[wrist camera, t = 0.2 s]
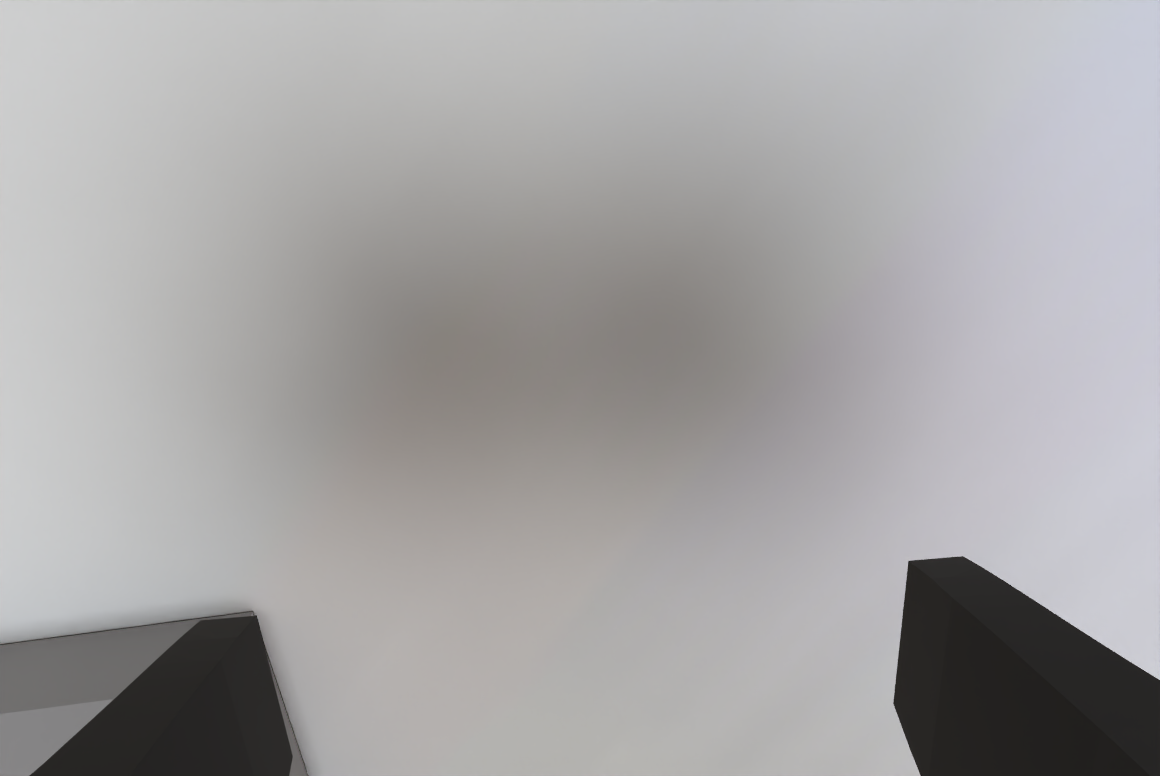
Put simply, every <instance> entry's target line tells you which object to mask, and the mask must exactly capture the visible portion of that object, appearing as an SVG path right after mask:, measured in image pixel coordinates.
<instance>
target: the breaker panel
mask: <svg viewBox="0 0 1160 776" xmlns="http://www.w3.org/2000/svg"><path fill="white" fill-rule="evenodd" d="M245 616H254V614H253V612H247V613H239V614H232V615H224V616H216V617H209V618H201V619H194V620H186V621H179V622H171V623H163V624H156V625H148V626H141V627H133V628H126V629H118V630H111V631H103V632H95V633H88V634H80V635H73V636H65V637H58V638H50V639H42V640H35V641H27V642H20V643H12V644H5V645H0V776H29V775H31V774H32V773H33V772H34V771H35V770H37V769H38V768H39V767H40V766H41V765H42V764H43V763H45V762H46V761H47V760H48V759H49V758H50V757H51V756H52V755H53V754H54V753H56V752H57V751H58V750H59V749H60V748H61V747H62V746H63V745H64V744H65V743H67V742H68V741H69V740H70V739H71V738H72V737H73V736H74V735H75V734H76V733H77V732H79V731H80V730H81V729H82V728H83V727H84V726H85V725H86V724H87V723H88V722H90V721H91V720H92V719H93V718H94V717H95V716H96V715H97V714H98V713H99V712H100V711H102V710H103V709H104V708H105V707H106V706H107V705H108V704H109V703H110V702H111V701H112V700H114V699H115V698H116V697H117V696H118V695H119V694H120V693H121V692H122V691H123V690H124V689H125V688H126V687H127V686H129V685H130V684H131V683H132V682H133V681H134V680H135V679H136V678H137V677H138V676H139V675H140V674H141V673H142V672H144V671H145V670H146V669H147V668H148V667H149V666H150V665H151V664H152V663H153V662H154V661H155V660H156V659H158V658H159V657H160V656H161V655H162V654H163V653H164V652H165V651H166V650H167V649H168V648H169V647H171V646H172V645H173V644H174V643H175V642H176V641H177V640H178V639H179V638H181V637H182V636H183V635H184V634H185V633H186V632H187V631H189V630H190V629H191V628H192V627H193V626H194V625H196V624H197V623H198V622H199V621H200V620H210V619H221V618H233V617H245ZM266 654H267V653H266ZM267 658H268V656H267ZM268 662H269V659H268ZM269 666H270V670H271V673H272V677H273V681H274V685H275V689H276V693H277V697H278V701H279V704H280V708H281V712H282V716H283V720H284V724H285V728H286V732H287V735H288V739H289V743H290V747H291V751H292V755H293V758H292V764H291V769H290V775H289V776H308V775H307V772H306V769H305V766H304V763H303V760H302V757H301V754H300V751H299V748H298V745H297V742H296V739H295V736H294V733H293V730H292V727H291V724H290V721H289V718H288V715H287V712H286V709H285V706H284V703H283V700H282V697H281V694H280V692H279V689H278V686H277V683H276V680H275V677H274V674H273V671H272V668H271V665H270V662H269Z"/></svg>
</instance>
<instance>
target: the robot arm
mask: <svg viewBox="0 0 1160 776" xmlns="http://www.w3.org/2000/svg"><path fill="white" fill-rule="evenodd" d="M893 704H894V706H895V709H896V712H897V714H898V717H899V720H900V723H901V725H902V728H903V731H904V733H905V736H906V739H907V742H908V744H909V747H910V750H911V752H912V755H913V757H914V760H915V762H916V765H917V767H918V770H919V772H920V775H921V776H1160V680H1158V679H1157V678H1155V677H1154V676H1152V675H1150V674H1149V673H1147V672H1145V671H1144V670H1142V669H1141V668H1139V667H1137V666H1136V665H1134V664H1132V663H1131V662H1129V661H1128V660H1126V659H1125V658H1123V657H1121V656H1120V655H1118V654H1117V653H1115V652H1113V651H1112V650H1110V649H1109V648H1107V647H1105V646H1104V645H1102V644H1101V643H1099V642H1098V641H1096V640H1094V639H1093V638H1091V637H1090V636H1088V635H1087V634H1085V633H1084V632H1082V631H1080V630H1079V629H1077V628H1076V627H1074V626H1073V625H1071V624H1070V623H1068V622H1066V621H1065V620H1063V619H1062V618H1060V617H1059V616H1057V615H1056V614H1054V613H1053V612H1051V611H1049V610H1048V609H1046V608H1045V607H1043V606H1042V605H1040V604H1039V603H1037V602H1036V601H1034V600H1032V599H1031V598H1029V597H1028V596H1026V595H1025V594H1023V593H1022V592H1020V591H1019V590H1017V589H1015V588H1014V587H1012V586H1011V585H1009V584H1008V583H1006V582H1005V581H1003V580H1001V579H1000V578H998V577H997V576H995V575H993V574H992V573H990V572H989V571H987V570H985V569H984V568H982V567H980V566H979V565H977V564H975V563H974V562H972V561H970V560H968V559H967V558H965V557H963V556H962V557H950V558H938V559H926V560H914V561H909V562H908V572H907V581H906V591H905V600H904V609H903V619H902V628H901V638H900V647H899V656H898V666H897V675H896V684H895V694H894V703H893ZM292 758H293V755H292V751H291V747H290V743H289V739H288V735H287V732H286V728H285V724H284V720H283V716H282V712H281V708H280V704H279V701H278V697H277V693H276V689H275V685H274V681H273V677H272V673H271V670H270V666H269V662H268V658H267V654H266V650H265V646H264V642H263V638H262V635H261V631H260V627H259V623H258V619H257V616H245V617H233V618H221V619H210V620H200V621H199V622H198V623H197V624H196V625H194V626H193V627H192V628H191V629H190V630H189V631H187V632H186V633H185V634H184V635H183V636H182V637H181V638H179V639H178V640H177V641H176V642H175V643H174V644H173V645H172V646H171V647H169V648H168V649H167V650H166V651H165V652H164V653H163V654H162V655H161V656H160V657H159V658H158V659H156V660H155V661H154V662H153V663H152V664H151V665H150V666H149V667H148V668H147V669H146V670H145V671H144V672H142V673H141V674H140V675H139V676H138V677H137V678H136V679H135V680H134V681H133V682H132V683H131V684H130V685H129V686H127V687H126V688H125V689H124V690H123V691H122V692H121V693H120V694H119V695H118V696H117V697H116V698H115V699H114V700H112V701H111V702H110V703H109V704H108V705H107V706H106V707H105V708H104V709H103V710H102V711H100V712H99V713H98V714H97V715H96V716H95V717H94V718H93V719H92V720H91V721H90V722H88V723H87V724H86V725H85V726H84V727H83V728H82V729H81V730H80V731H79V732H77V733H76V734H75V735H74V736H73V737H72V738H71V739H70V740H69V741H68V742H67V743H65V744H64V745H63V746H62V747H61V748H60V749H59V750H58V751H57V752H56V753H54V754H53V755H52V756H51V757H50V758H49V759H48V760H47V761H46V762H45V763H43V764H42V765H41V766H40V767H39V768H38V769H37V770H35V771H34V772H33V773H32V774H31V775H29V776H289V775H290V769H291V764H292Z"/></svg>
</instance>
